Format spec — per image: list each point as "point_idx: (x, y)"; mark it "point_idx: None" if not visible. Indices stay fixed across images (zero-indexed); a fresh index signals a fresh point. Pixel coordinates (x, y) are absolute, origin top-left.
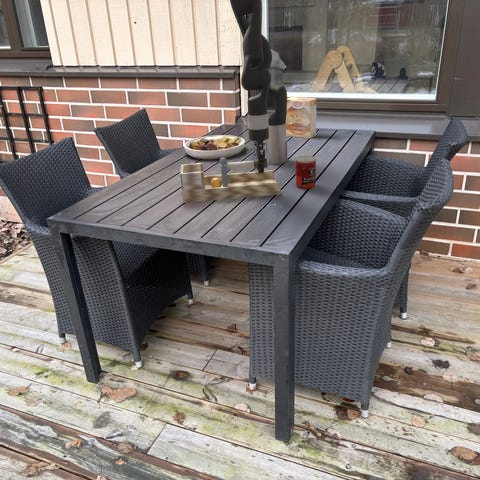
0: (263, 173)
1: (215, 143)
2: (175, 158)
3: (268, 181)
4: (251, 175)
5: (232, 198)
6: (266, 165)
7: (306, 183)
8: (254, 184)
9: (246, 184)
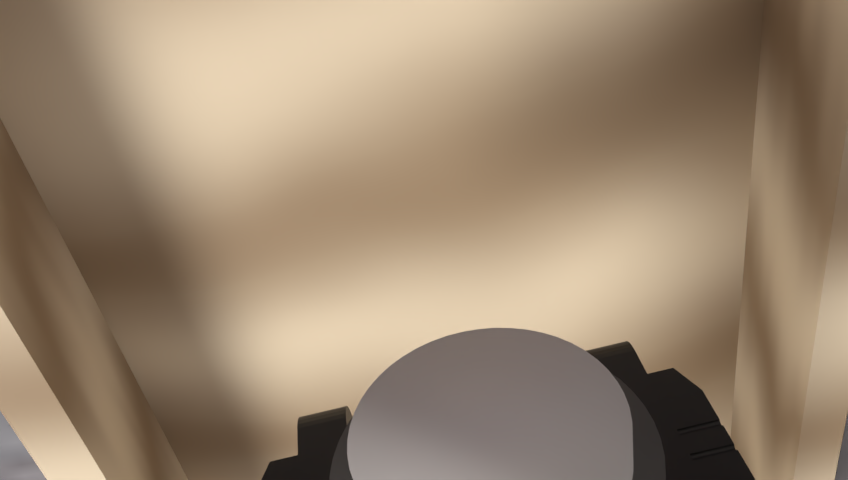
0: (15, 282)
1: None
2: None
3: (211, 105)
4: (128, 452)
5: None
6: (643, 422)
7: None
8: (823, 356)
9: None
